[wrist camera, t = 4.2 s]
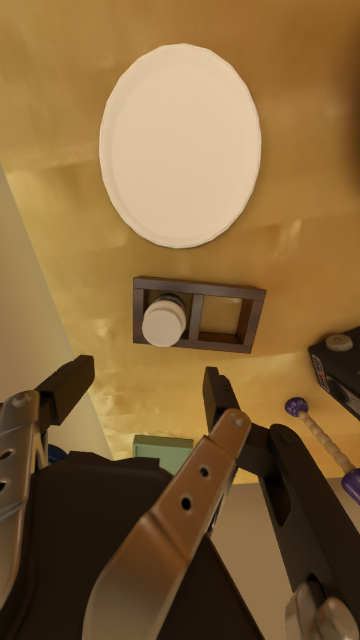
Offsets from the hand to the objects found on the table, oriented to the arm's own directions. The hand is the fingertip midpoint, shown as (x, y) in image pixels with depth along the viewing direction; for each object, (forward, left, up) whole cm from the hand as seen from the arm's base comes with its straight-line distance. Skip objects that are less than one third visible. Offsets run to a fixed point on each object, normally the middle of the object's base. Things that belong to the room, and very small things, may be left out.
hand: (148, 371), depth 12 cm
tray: (+1, -37, -18) cm, 41 cm away
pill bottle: (0, 0, -18) cm, 18 cm away
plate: (0, +20, -18) cm, 27 cm away
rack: (+4, 0, -18) cm, 18 cm away
